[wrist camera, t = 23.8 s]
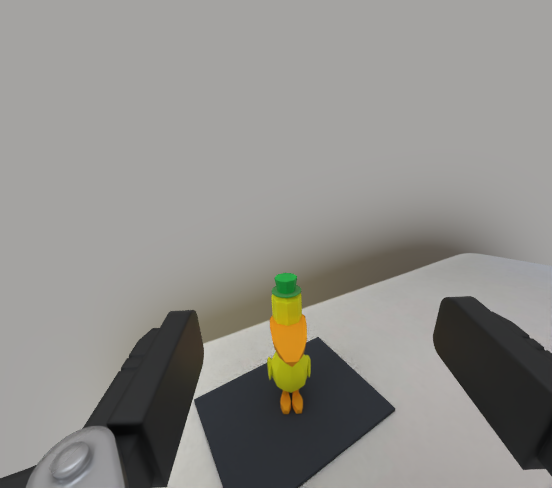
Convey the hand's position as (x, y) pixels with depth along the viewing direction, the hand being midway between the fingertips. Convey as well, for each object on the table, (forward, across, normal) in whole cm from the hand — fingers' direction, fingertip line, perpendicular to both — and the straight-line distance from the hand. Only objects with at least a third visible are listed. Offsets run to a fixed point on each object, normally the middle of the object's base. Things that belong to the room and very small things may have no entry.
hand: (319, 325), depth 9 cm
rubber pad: (+8, -1, -16) cm, 18 cm away
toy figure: (+8, -1, -16) cm, 18 cm away
